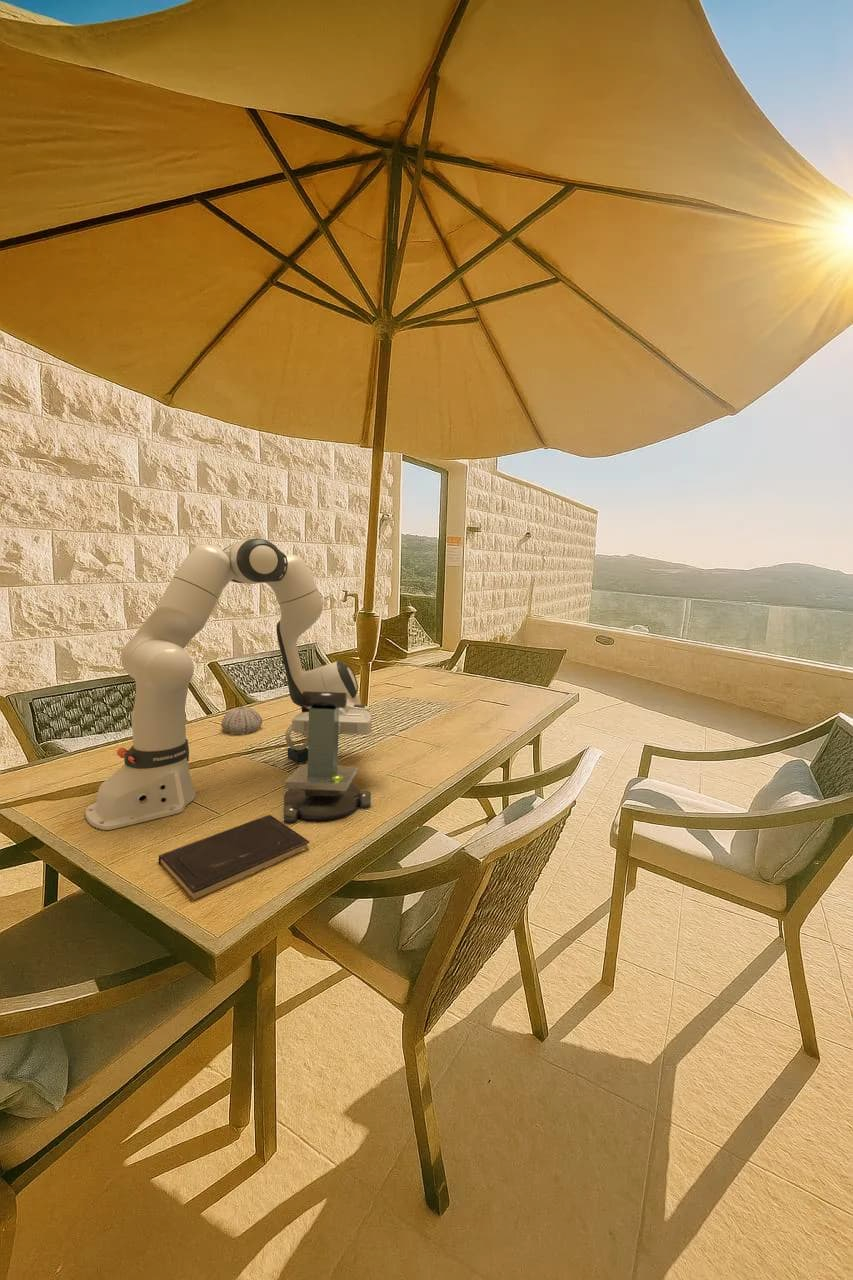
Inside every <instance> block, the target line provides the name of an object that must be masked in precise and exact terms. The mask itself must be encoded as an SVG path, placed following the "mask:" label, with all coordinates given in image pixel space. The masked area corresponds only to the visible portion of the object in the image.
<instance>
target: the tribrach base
mask: <svg viewBox="0 0 853 1280" xmlns="http://www.w3.org/2000/svg"><path fill="white" fill-rule="evenodd" d="M371 805H372V793H371V791H369V790H361V789H360V787H359V786H358V785H356V784H355V783H354V782H353V781H352V782H351V783H350V785H349V787H348V788H347V790H346V791H335V790H312V789H289V788H287V790H286V791H285V792H284V795H283V824H285V825H293V823H294V824H297V823H298V822H299V821H301V822H306V823H327V822H334V821H337V820H341V819H344V818H346V816H347V817H348V816H350V815H352V814H354V813H355V812H356V811H358V810H359V809H363V810H364V809H369V808H371ZM340 818H341V819H340ZM297 821H298V822H297Z"/></svg>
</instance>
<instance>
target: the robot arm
mask: <svg viewBox="0 0 853 1280" xmlns="http://www.w3.org/2000/svg"><path fill="white" fill-rule="evenodd" d="M230 582H233V583H237V584H247V585H254V584H255V585H256V584H263V583H265V584H267V585H268V586H269V587H270V588H271V590H272V592H273V593H274V595H275V598H276V600H277V603H278V605H279V608H280V620H279V621H278V622H277V624H276V635H277V636H276V637H277V641H278V647H279V651H280V654H281V655H280V656H281V658H282V663H283V667H284V671H285V676H286V679H287V681H286V682H287V687H288V693H289V696H290V697H289V698H290V700H291V702H293V704H295V705H296V706H299V707H300V708H301V707H303V708H308V707H305V706H302V694H303V692H304V691H312V692H340V693H346V694H347V704H346V708H339V731H338V735H360V736H361V735H363V736H368V735H370V734H371V733H372V713H371V712H370V710H371V709H370V706H366V705H362V703H361V698H360V695H359V694H358V691H359V685H358V680H357V677H356V675H355V672H354V670H353V669H352V668H351V666H349V665H347V664H346V663H345V662H343V661H340V660H338V661H334V662H330V663H328V664H327V663H326V664H324V665H321V666H319V667H315V668H313V669H310V670H304V669H303V666H302V663H301V662H302V661H301V658H300V655H299V650H298V645H297V644H298V643H297V641H298V639H299V638H300V637H301V636H302V635H303V633H306V632H307V630H309V629H310V628H311V627H312V626H314V625H315V623H316V622H317V621H318V620H319V618H320V617H321V615H322V613H323V606H324V604H323V603H324V602H323V600H322V597H321V596H322V595H321V594H320V591H319V589H318V587H317V583H316V581H315V579H314V577H313V576H312V574H311V571H310V570H309V568H308V567H307V565H306V563H305V562H304V560H303V559H302V558H301V557H300V556H299V555H296V554H292V553H291V554H289V553H287V554H285V553H283V552H282V551H281V550H280V549H279V548H278V547H277V546H276V545H275V544H274V543H272V542H271V541H269V540H266V539H264V538H256V537H254V538H250V539H249V538H248V539H242V540H240V541H237V542H235V543H233V544H230V545H228V546H227V547H225V548H223V549H221V548H218V547H216V546H214V545H211V544H210V545H209V544H199V545H196V546H195V547H194V548H193V549H192V550H191V551H190V552H189V553H188V555H187V556H186V557H185V558H184V560H183V561H182V563H180V566H179V567H177V569H176V571H175V572H174V575H173V577H172V578H171V580H170V581H169V584H168V586H167V587H166V589H165V591H164V593H163V594H162V596H161V598H160V599H159V601H158V603H157V604H156V606H155V608H154V610H153V611H152V612H151V613H150V615H149V616H148V618H146V620H145V621H144V622H143V623H142V625H141V626H140V627H139V629H138V630H137V631H136V633H135V634H134V636H133V637H132V638H131V640H130V641H128V642H127V643H126V644H125V645H124V647H123V648H122V651H121V654H120V656H121V657H120V659H121V664H122V667H123V669H124V671H125V672H126V674H128V676H129V677H131V678H132V679H134V683H135V697H134V705H133V708H132V711H131V716H130V717H131V731H132V746H131V747H130V748H129V749H127V748H125V747H119V748H118V749H117V751H116V755H117V756H118V757H119V758H121V759H123V760H124V762H123V763H124V764H123V765H122V766H121V767H119V768H118V769H117V770H116V771H115V772H114V773H113V774H111V775H110V776H109V777H108V778H106V779H105V780H104V781H103V782H102V783H101V784H100V786H99V788H98V791H97V796H96V802H94V803H92V804H90V805H88V806H87V808H86V810H85V815H86V816H85V820H86V819H87V820H86V821H87V822H88V823H89V824H90V825H91V826H92V827H94V828H95V827H96V828H95V829H98V828H99V829H98V830H103V831H111V830H115V829H120V828H123V827H127V826H131V825H132V826H133V825H136V824H140V823H144V822H149V821H152V820H157V819H160V818H164V817H169V816H172V815H177V814H180V813H183V811H184V810H185V809H186V806H187V805H188V804H190V803H191V802H192V801H193V800H194V799H195V798H196V795H197V793H196V790H195V789H194V785H193V782H192V779H191V774H190V769H189V762H190V760H189V759H190V757H189V756H190V749H189V748H190V747H189V741H188V739H187V733H186V731H187V730H186V729H187V728H186V705H187V704H186V703H187V702H186V701H187V697H188V692H189V691H188V690H189V685H190V682H191V680H192V678H193V676H194V672H195V666H194V661H193V660H192V658H191V657H190V654H188V652H187V651H186V650H185V648H186V647H187V645H188V644H189V643H190V642H191V641H192V639H193V638H194V637H195V636H196V635H197V634H198V633H200V632H201V631H202V630H203V629H204V628H205V626H206V624H207V622H208V620H209V618H210V617H211V614H212V612H213V610H214V608H215V607H216V605H217V603H218V601H219V600H220V598H221V596H222V593H223V591H224V588H226V587H227V585H228V584H229V583H230ZM291 724H292V732H294V733H302V734H303V733H308V731H309V712H303V713H302V712H299V713H298V714H296V715H295V716H294V717H292V719H291Z"/></svg>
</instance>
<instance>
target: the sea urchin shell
mask: <svg viewBox="0 0 853 1280" xmlns="http://www.w3.org/2000/svg"><path fill="white" fill-rule="evenodd" d="M262 724H263V718H262V716H261V715H260V714H259V712H258V711H257V710H255V709H253V708H252V707H248V706H237V707H233V708H231V709H230V710H228V711H227V713H225V715H224V716H223V718H222V720H221V723H220V726H221V729H223V731H225V732H226V733H230V734H234V735H244V734H250V733H254V731H255V732H256V731H257V730H259V729H261V726H262ZM243 733H244V734H243Z"/></svg>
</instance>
